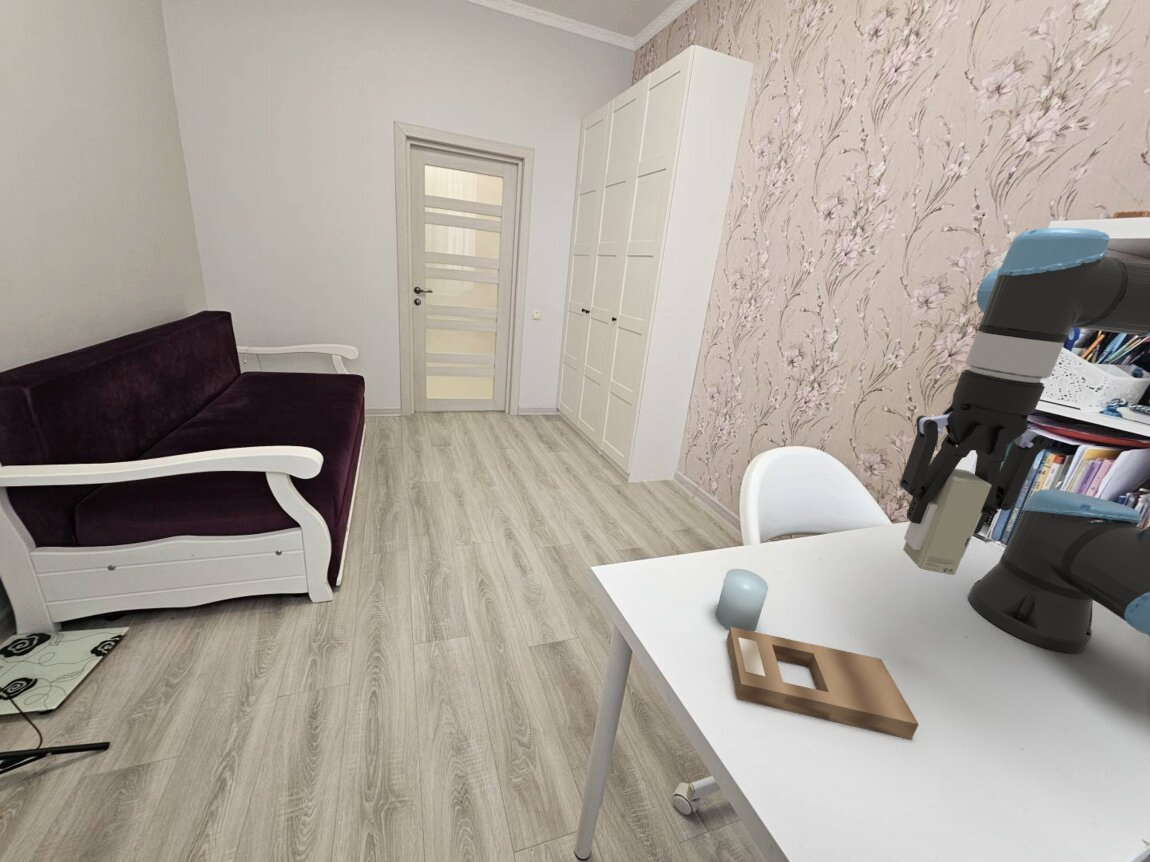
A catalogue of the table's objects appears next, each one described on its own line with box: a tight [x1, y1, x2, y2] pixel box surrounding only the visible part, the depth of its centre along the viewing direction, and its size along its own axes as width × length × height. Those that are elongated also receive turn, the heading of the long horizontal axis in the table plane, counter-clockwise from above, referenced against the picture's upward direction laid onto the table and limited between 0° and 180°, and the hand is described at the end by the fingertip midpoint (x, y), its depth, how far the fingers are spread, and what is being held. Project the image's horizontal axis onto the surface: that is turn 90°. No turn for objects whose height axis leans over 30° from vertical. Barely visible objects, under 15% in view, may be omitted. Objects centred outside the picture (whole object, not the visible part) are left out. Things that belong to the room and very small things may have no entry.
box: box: [903, 468, 992, 576], centre depth 61 cm, size 5×4×13 cm
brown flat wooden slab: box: [726, 627, 920, 740], centre depth 61 cm, size 20×10×2 cm, turn 80°
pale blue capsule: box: [715, 568, 769, 632], centre depth 70 cm, size 6×6×7 cm
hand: (932, 547), depth 62 cm, fingers closed on box, 4 cm apart
